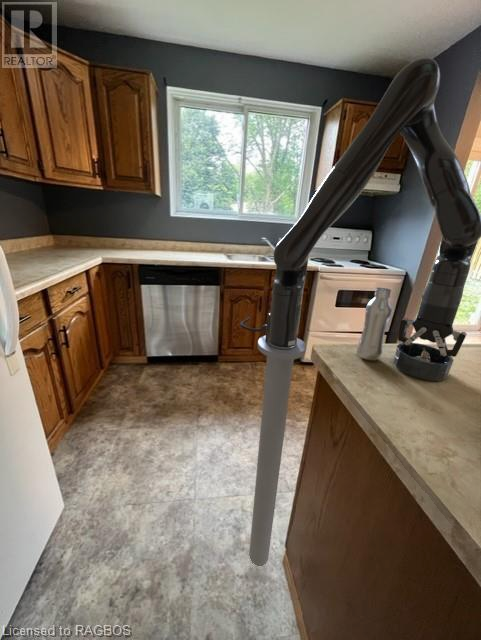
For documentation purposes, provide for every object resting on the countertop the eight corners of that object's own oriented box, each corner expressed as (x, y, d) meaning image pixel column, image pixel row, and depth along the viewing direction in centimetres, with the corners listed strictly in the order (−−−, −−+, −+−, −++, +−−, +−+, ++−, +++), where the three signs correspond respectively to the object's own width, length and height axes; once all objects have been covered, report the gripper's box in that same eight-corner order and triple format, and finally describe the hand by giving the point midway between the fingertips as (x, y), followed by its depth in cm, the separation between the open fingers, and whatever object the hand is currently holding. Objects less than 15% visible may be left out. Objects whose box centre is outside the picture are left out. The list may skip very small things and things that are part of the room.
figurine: (405, 363, 74) (411, 343, 72) (419, 362, 75) (425, 342, 73) (420, 373, 69) (427, 352, 67) (435, 372, 70) (442, 351, 68)
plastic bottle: (368, 351, 81) (384, 286, 74) (385, 362, 75) (404, 292, 68) (350, 353, 79) (364, 286, 72) (365, 364, 73) (382, 292, 66)
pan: (386, 368, 72) (390, 351, 70) (400, 354, 80) (404, 338, 79) (442, 388, 64) (448, 370, 62) (451, 370, 72) (457, 353, 71)
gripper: (479, 306, 63) (456, 368, 69) (411, 293, 73) (395, 348, 79) (476, 312, 58) (451, 378, 64) (402, 297, 68) (387, 356, 73)
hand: (421, 362), depth 71 cm, fingers open, 6 cm apart
